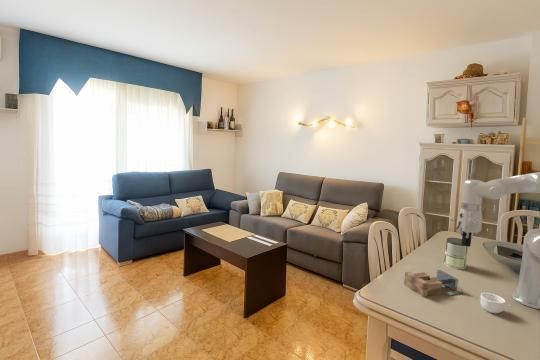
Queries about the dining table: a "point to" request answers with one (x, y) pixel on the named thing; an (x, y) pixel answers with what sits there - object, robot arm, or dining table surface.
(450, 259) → the coffee can
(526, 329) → the dining table surface
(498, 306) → the teacup
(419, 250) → the dining table surface
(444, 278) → the grey angular frame piece
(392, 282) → the dining table surface
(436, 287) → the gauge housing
